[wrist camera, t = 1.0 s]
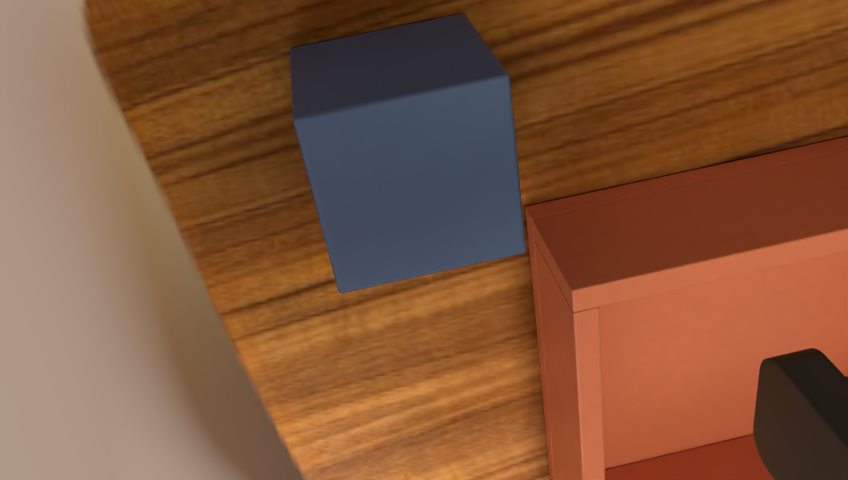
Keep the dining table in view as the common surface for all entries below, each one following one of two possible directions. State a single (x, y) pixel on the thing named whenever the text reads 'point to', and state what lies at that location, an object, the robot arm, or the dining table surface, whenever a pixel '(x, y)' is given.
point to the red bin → (684, 310)
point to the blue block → (408, 150)
